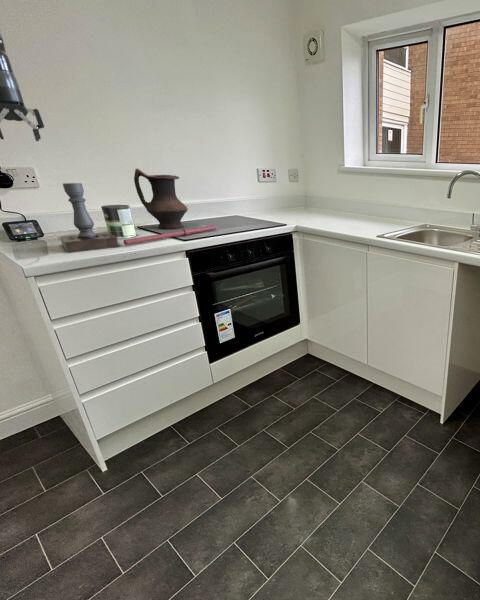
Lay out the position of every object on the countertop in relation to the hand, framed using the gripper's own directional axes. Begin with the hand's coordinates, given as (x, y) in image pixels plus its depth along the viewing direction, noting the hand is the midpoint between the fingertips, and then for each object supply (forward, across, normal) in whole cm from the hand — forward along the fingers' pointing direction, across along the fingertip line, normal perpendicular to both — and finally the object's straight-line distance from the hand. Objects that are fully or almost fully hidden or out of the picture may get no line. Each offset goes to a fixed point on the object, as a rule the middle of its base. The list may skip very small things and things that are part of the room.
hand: (20, 140), depth 121 cm
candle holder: (+40, -11, -5) cm, 42 cm away
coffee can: (+40, -25, -20) cm, 51 cm away
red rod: (+40, -42, -4) cm, 58 cm away
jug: (+40, -48, -34) cm, 71 cm away
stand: (+40, -11, -5) cm, 42 cm away
